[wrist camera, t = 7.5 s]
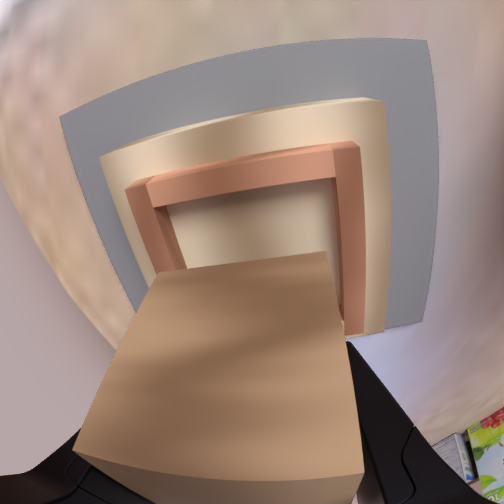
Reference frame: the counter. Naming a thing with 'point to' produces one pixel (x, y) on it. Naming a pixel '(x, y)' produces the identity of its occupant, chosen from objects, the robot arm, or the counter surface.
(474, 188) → the counter surface
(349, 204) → the socket plinth
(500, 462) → the snack box
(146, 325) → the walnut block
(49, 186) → the counter surface
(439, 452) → the medicine box
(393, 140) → the grey base plate
